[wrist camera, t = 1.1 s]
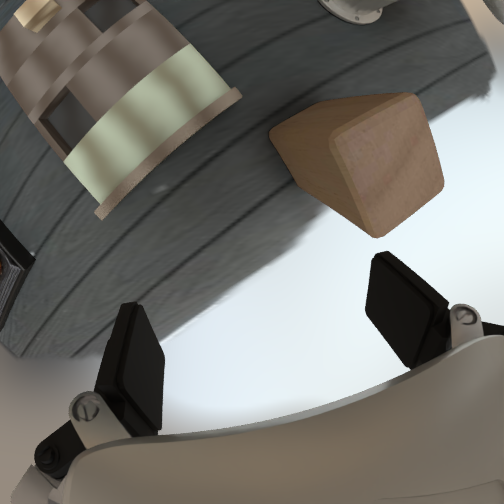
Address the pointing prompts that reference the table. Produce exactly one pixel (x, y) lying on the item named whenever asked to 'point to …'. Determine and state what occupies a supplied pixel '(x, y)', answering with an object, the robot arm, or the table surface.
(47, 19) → the birch block
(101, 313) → the table surface
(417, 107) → the block
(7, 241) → the food platter
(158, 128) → the board
